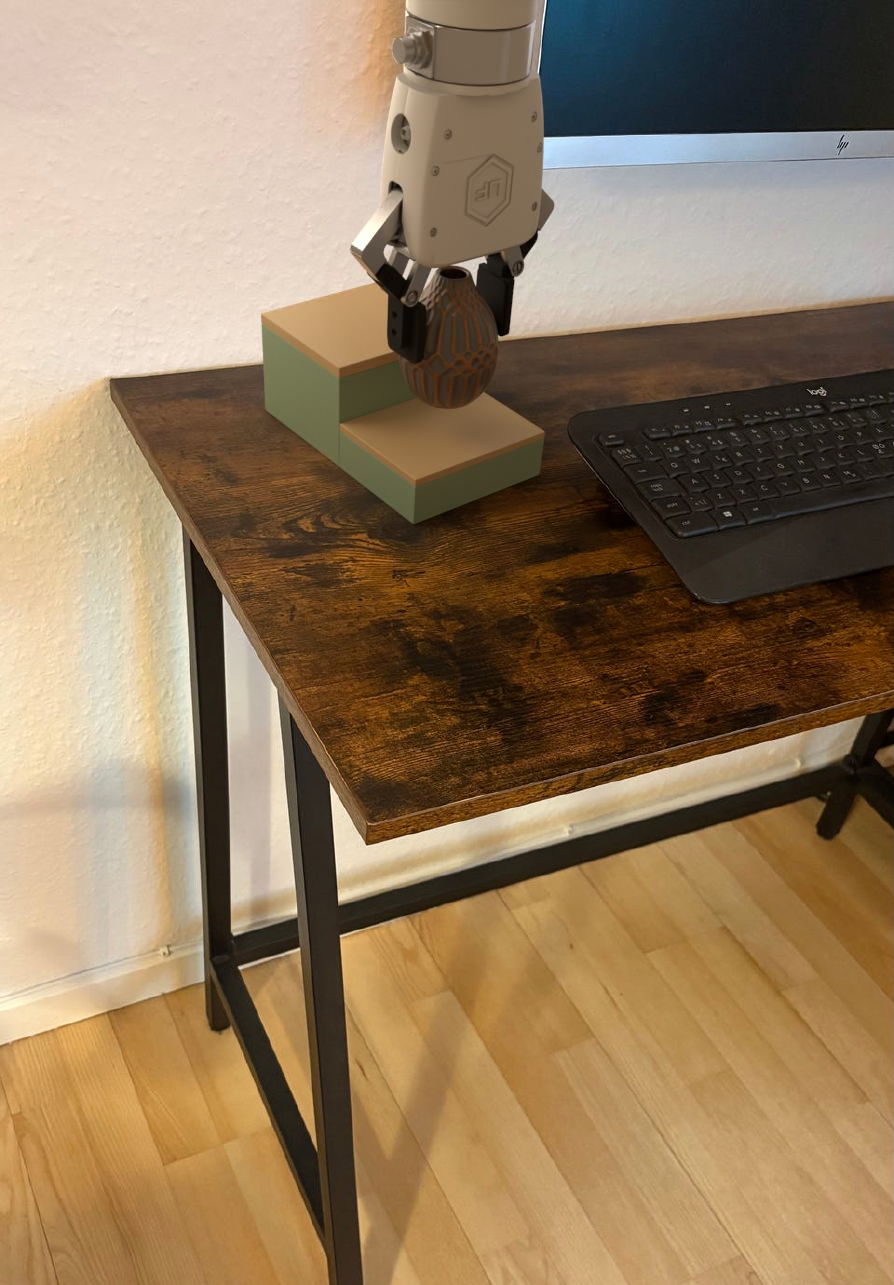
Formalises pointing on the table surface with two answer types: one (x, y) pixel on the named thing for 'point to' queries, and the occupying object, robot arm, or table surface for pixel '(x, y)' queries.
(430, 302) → the vase
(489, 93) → the robot arm
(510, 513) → the table surface
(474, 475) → the two-step display riser
